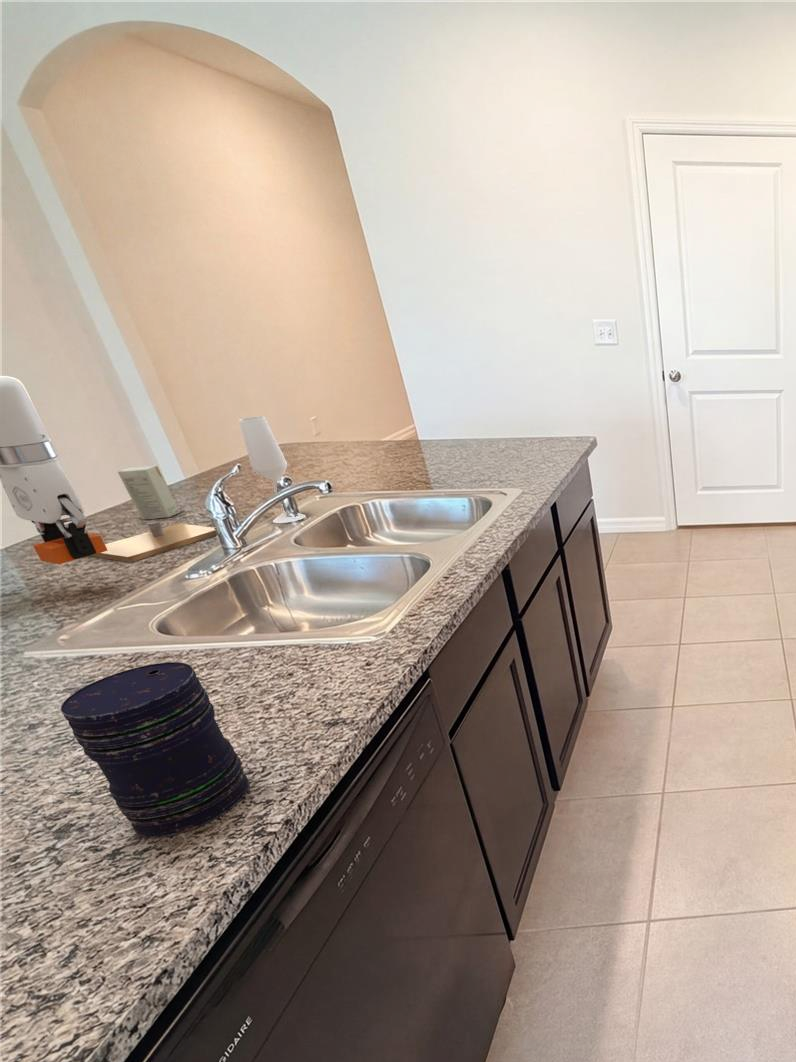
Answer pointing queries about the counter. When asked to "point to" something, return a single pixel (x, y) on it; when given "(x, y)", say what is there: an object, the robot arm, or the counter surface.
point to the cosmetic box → (149, 492)
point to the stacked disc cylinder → (158, 747)
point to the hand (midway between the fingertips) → (73, 553)
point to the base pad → (155, 541)
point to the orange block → (64, 549)
